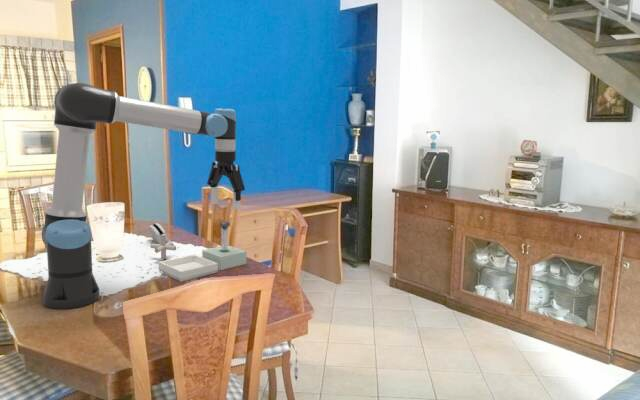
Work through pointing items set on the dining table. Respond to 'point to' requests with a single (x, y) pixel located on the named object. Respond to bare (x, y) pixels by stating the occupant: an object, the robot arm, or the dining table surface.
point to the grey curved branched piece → (158, 233)
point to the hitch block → (225, 257)
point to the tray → (188, 267)
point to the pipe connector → (163, 246)
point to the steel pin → (224, 236)
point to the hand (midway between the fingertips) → (225, 206)
